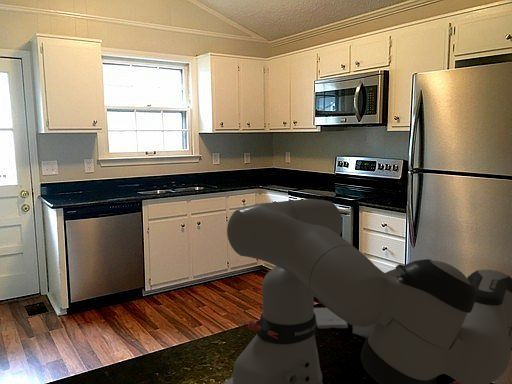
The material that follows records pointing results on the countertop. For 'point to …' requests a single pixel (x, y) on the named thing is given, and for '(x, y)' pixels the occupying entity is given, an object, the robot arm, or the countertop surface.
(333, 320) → the external hard drive
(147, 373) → the countertop surface
